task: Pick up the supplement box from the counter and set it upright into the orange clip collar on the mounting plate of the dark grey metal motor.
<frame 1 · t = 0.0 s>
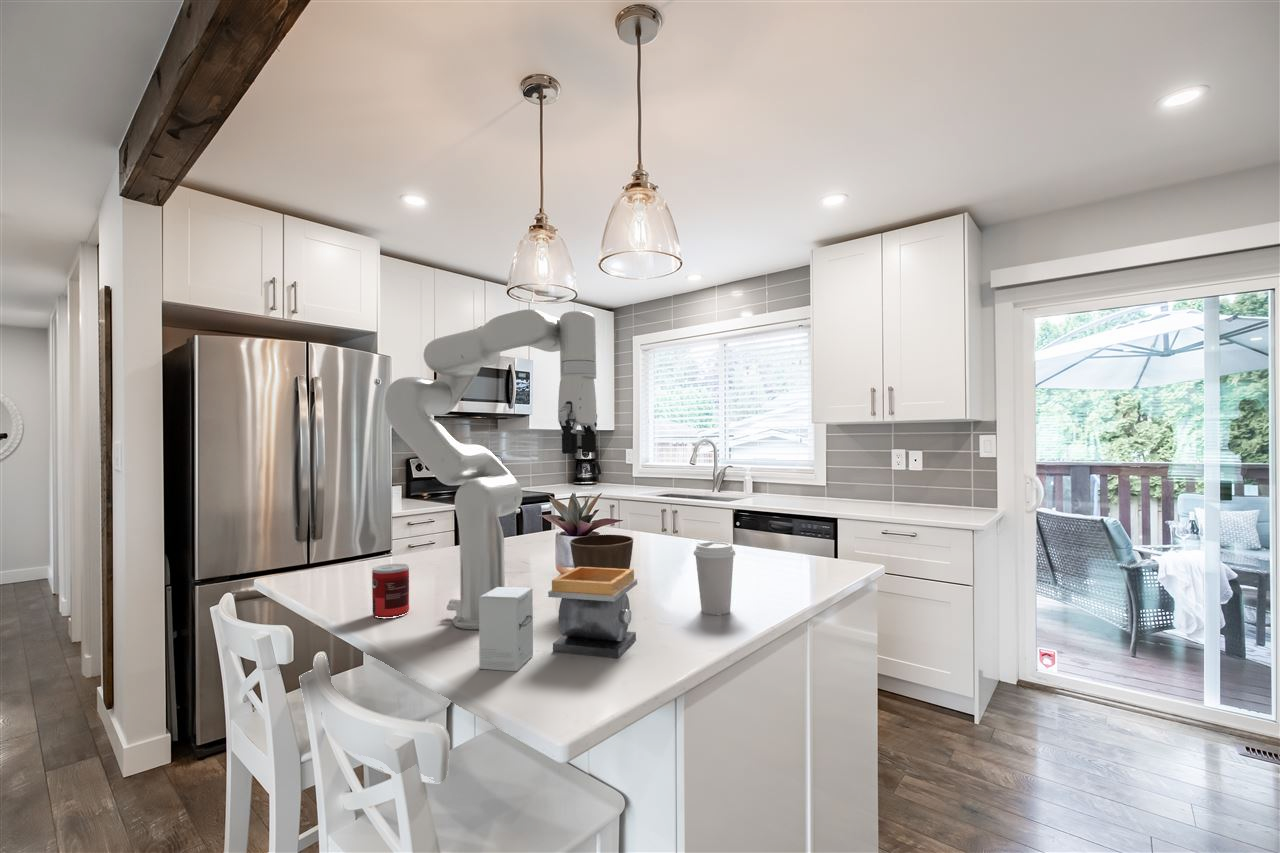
hand: (579, 452, 121), 37 cm above the countertop, tool pointing down, fingers open, 9 cm apart
motor: (595, 645, 111), on the countertop
canned food: (391, 615, 134), on the countertop
coffee cup: (715, 611, 132), on the countertop
supplement box: (507, 663, 103), on the countertop
plant pot: (603, 608, 136), on the countertop
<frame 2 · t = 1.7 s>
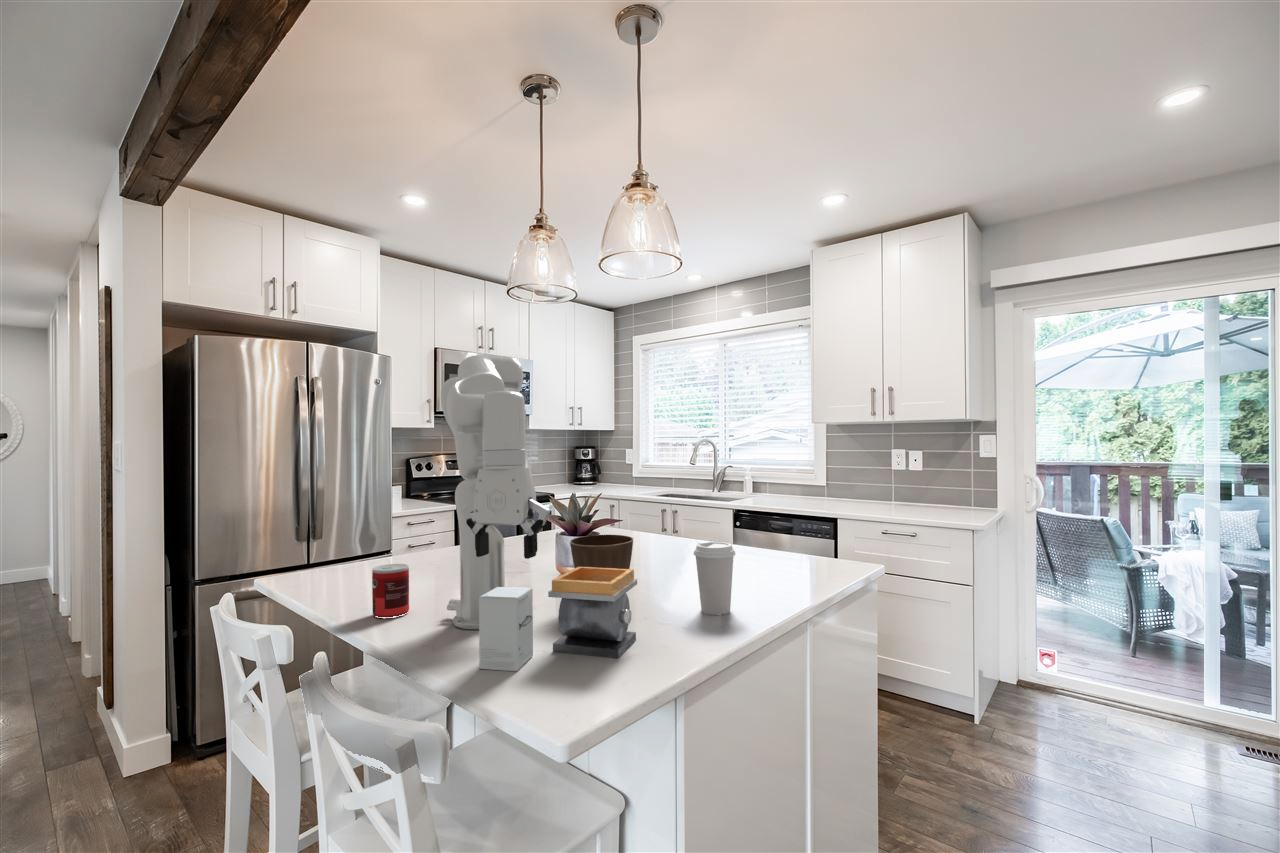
hand: (506, 556, 103), 19 cm above the countertop, tool pointing down, fingers open, 9 cm apart
nothing on the countertop moved.
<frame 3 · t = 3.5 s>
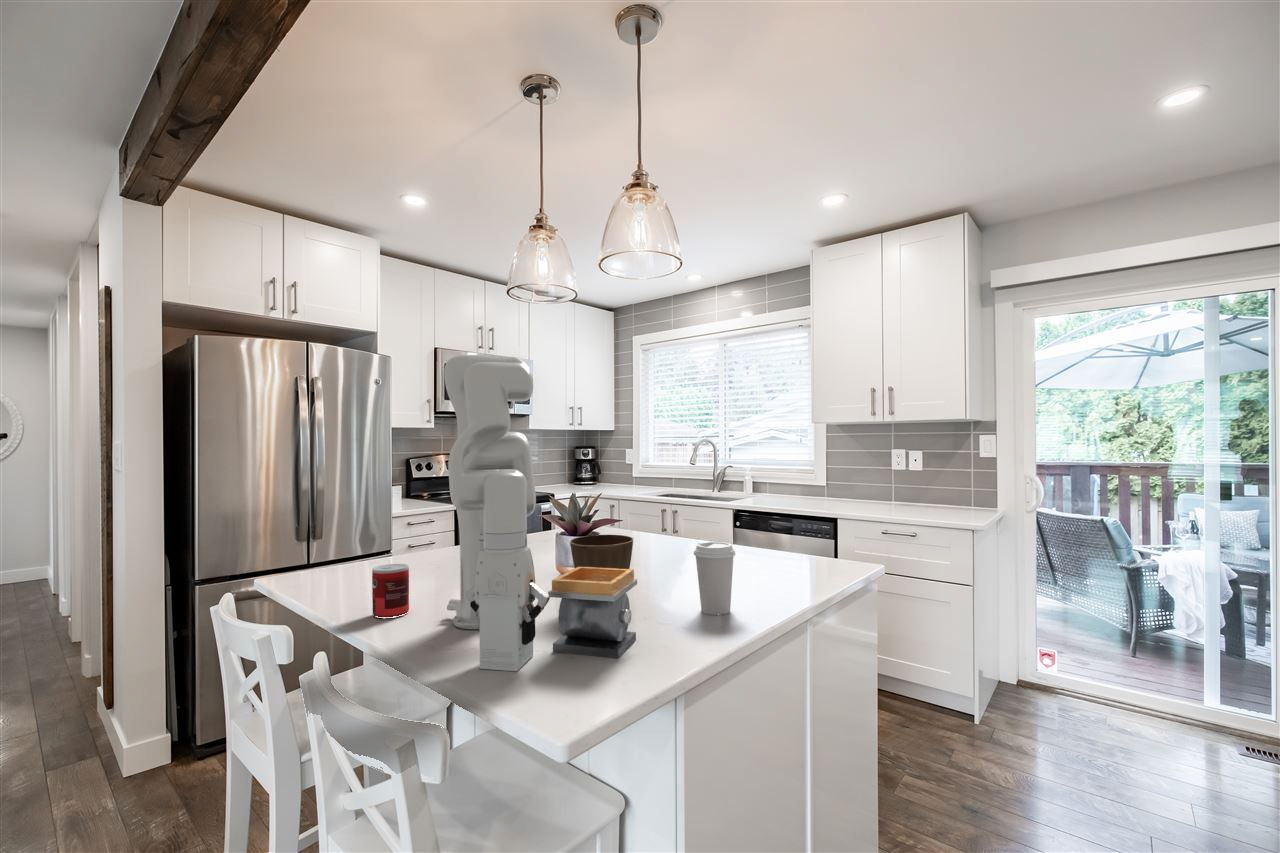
hand: (507, 639, 103), 4 cm above the countertop, tool pointing down, fingers closed on supplement box, 7 cm apart
supplement box: (507, 663, 103), on the countertop, touching gripper
everything else where it was.
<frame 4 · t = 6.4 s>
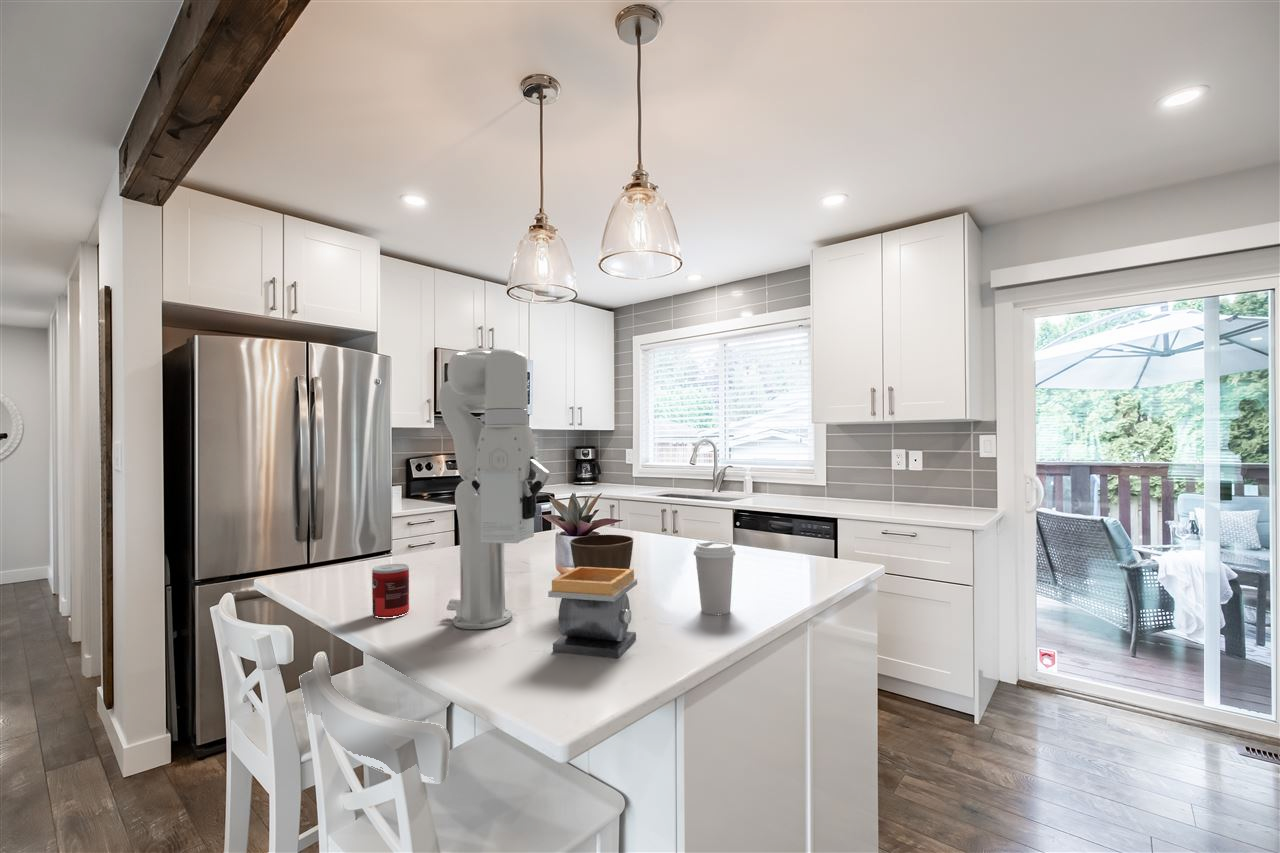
hand: (508, 517, 104), 26 cm above the countertop, tool pointing down, fingers closed on supplement box, 7 cm apart
supplement box: (508, 541, 104), point 21 cm above the countertop, touching gripper
everything else where it was.
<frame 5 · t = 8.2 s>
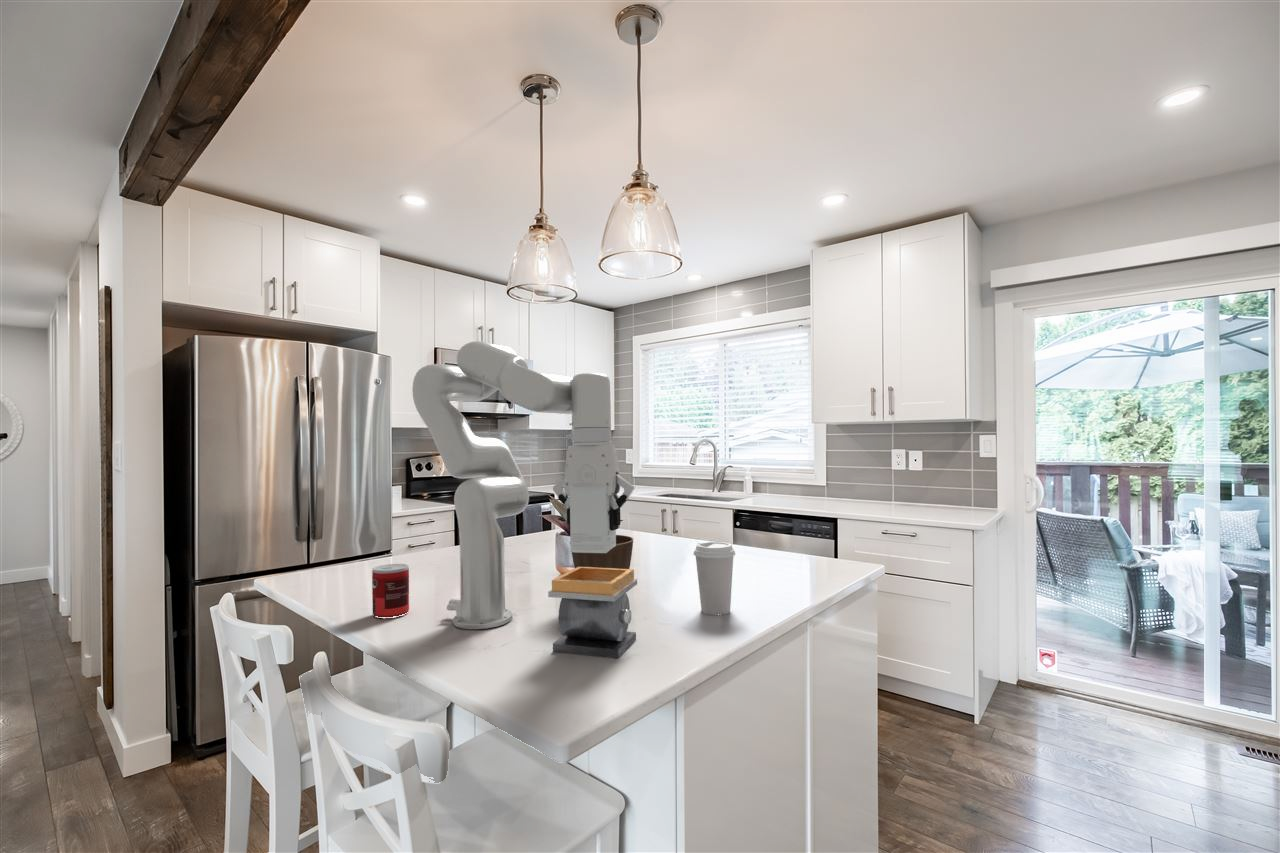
hand: (593, 528, 111), 22 cm above the countertop, tool pointing down, fingers closed on supplement box, 7 cm apart
supplement box: (594, 550, 111), point 18 cm above the countertop, touching gripper
everything else where it was.
when the fingers open (17 cm above the countertop, at t = 9.7 s): supplement box drops 1 cm, resting on motor.
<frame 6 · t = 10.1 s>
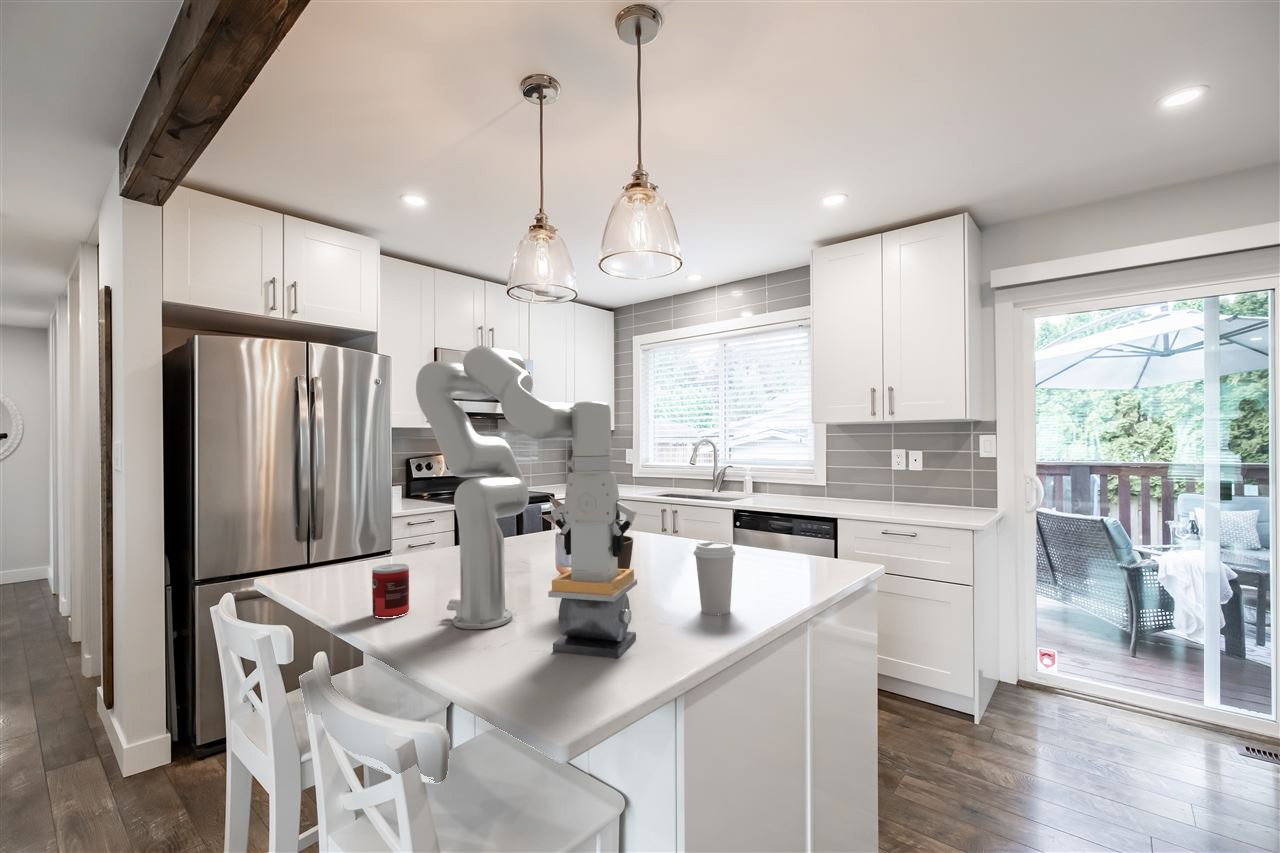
hand: (593, 554, 111), 17 cm above the countertop, tool pointing down, fingers open, 9 cm apart
supplement box: (595, 586, 111), point 11 cm above the countertop, touching motor
everything else where it was.
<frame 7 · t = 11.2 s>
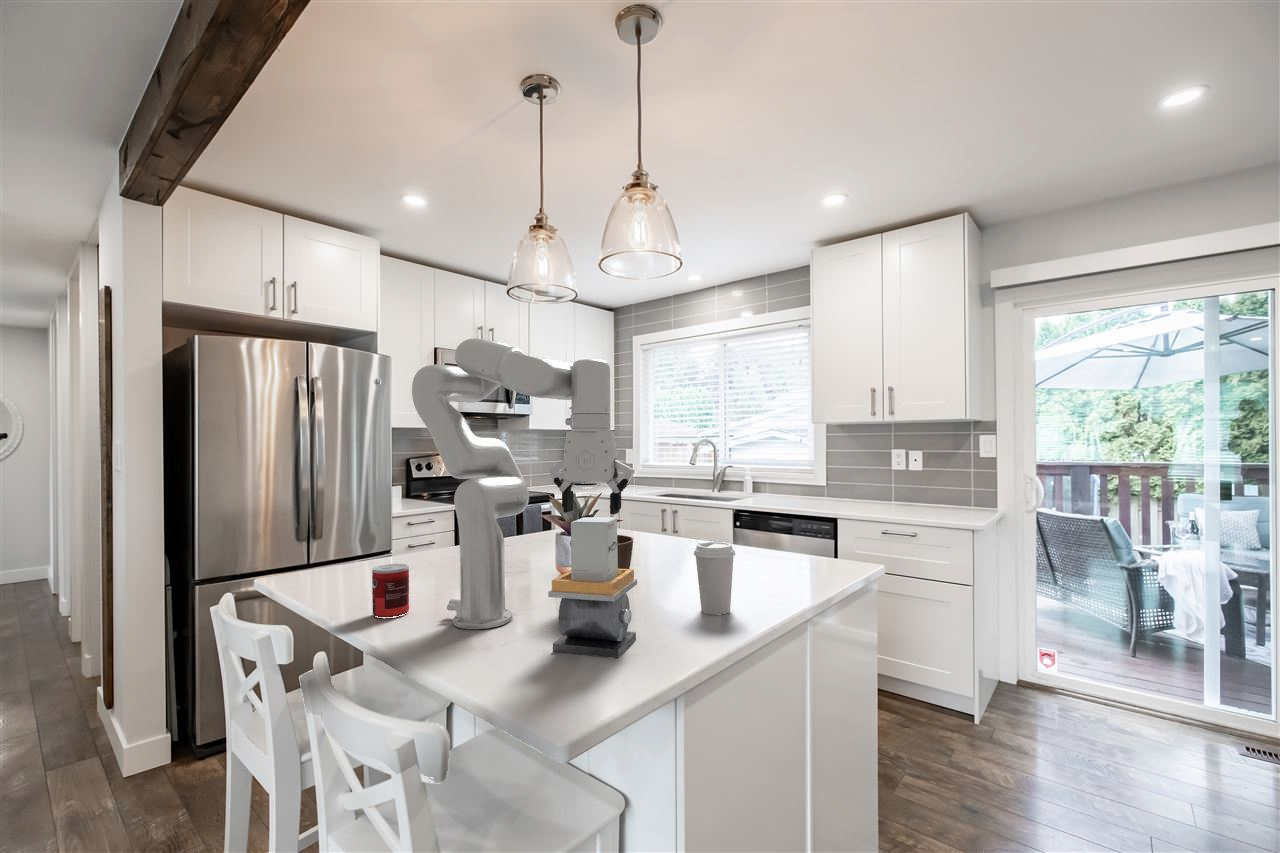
hand: (591, 512, 112), 25 cm above the countertop, tool pointing down, fingers open, 9 cm apart
nothing on the countertop moved.
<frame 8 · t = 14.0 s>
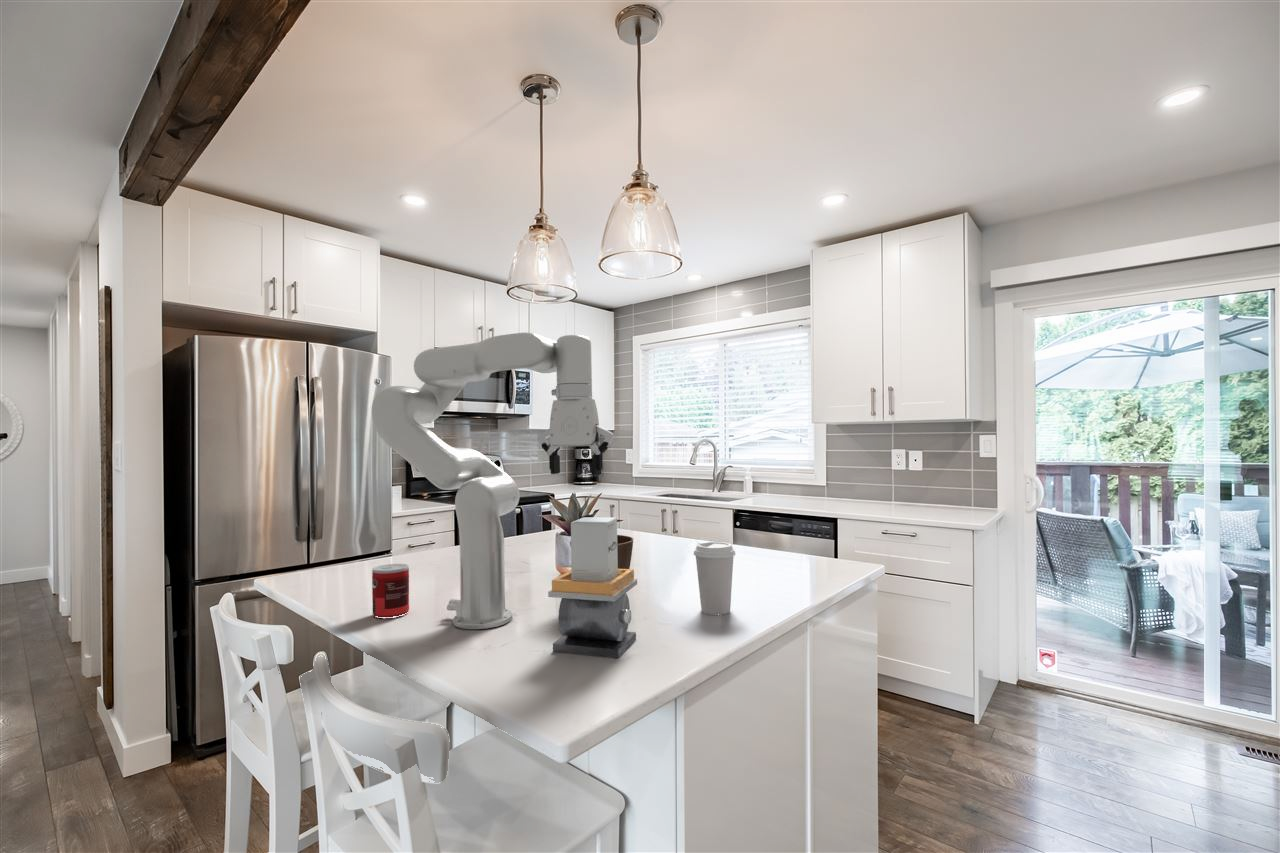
hand: (575, 473, 124), 32 cm above the countertop, tool pointing down, fingers open, 9 cm apart
nothing on the countertop moved.
at the end: supplement box 0.2 cm off-centre on the motor, point 11.3 cm above the motor's base; supplement box tilted 0°; the gripper is holding nothing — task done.
